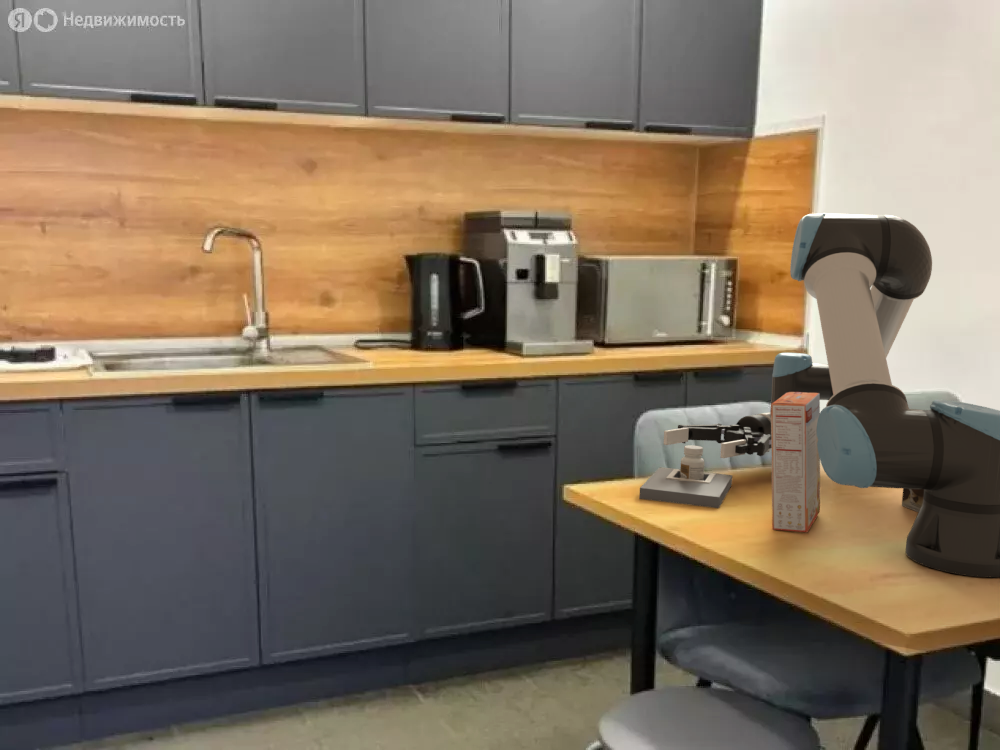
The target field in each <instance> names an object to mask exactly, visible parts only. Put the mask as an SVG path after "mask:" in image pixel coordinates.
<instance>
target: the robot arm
mask: <svg viewBox="0 0 1000 750" xmlns="http://www.w3.org/2000/svg"><path fill="white" fill-rule="evenodd" d="M792 244H793V245H792V251H791V259H790V277H791V279H792V280H794V281H795V280H796V281H798V282H802V281H803V284H804V288H805V290H806V292H807V293H808V294H809V295H810V296H811V297H812V298H814V299H815V300H816V303H817V309H818V315H819V321H820V325H821V326H820V327H821V331H822V338H823V342H824V343H823V344H824V348H825V353H826V354H825V355H826V360H827V363H817V362H813V359H812V355H810V354H808V353H802V352H801V353H799V352H781V353H778V354H776V356H775V357H774V361H773V368H772V369H773V371H772V375H771V376H772V382H771V383H772V384H771V403H770V405H771V404H772V403H773V402H775V401H776V400H778V399H779V398H780V397H782V396H783V395H784V394H786V393H788V392H806V393H819V394H820V401H827V402H826V406H825V407H823V408H822V409H821V410H820V414H819V417H818V421H817V438H818V442H817V448H818V453H819V458H820V465H821V466H822V469H823V471H824V473H825V474H826V476H827V477H828V478H829V479H830V480H831V481H832V482H834V483H836V484H838V485H842V486H852V487H855V488H856V487H857V488H860V489H868V488H887V489H902V490H903V489H923V490H924V496H923V504H922V507H921V509H920V511H919V512H917V516H916V518H915V520H914V522H913V523H912V527H911V528H910V530H909V533H908V535H907V537H906V544H905V554H906V556H907V557H909V558H910V559H911V560H913V561H914V562H916V563H917V564H920V565H923V566H926V567H928V568H931V569H934V570H938V571H942V572H946V573H951V574H956V575H963V576H969V577H979V578H1000V410H999V409H995V408H990V407H987V406H982V405H978V404H973V403H967V402H962V401H956V400H949V399H938V398H937V399H933V400H932V402H931V404H930V405H929V408H930V409H916V408H909V404H908V400H907V397H906V395H905V393H904V392H903V390H902V389H900V388H899V387H897V386H895V385H893V383H892V380H891V379H892V378H891V375H890V374H891V373H890V370H889V366H888V365H889V364H888V362H887V357H888V355H889V353H890V351H891V349H892V347H893V344H894V342H895V340H896V338H897V336H898V334H899V332H900V331H901V330H900V329H901V328H902V325H903V323H904V322H905V319H906V317H907V314H908V312H909V310H910V308H911V306H912V304H913V302H914V300H915V299H918V298H919V297H921V296H922V295H923V294H924V293H925V291H926V288H927V286H928V284H929V282H930V280H931V276H932V271H933V257H932V253H931V249H930V246H929V244H928V242H927V239H926V238H925V236H924V235H923V233H922V232H921V231H920V229H918V228H917V227H916V226H915V225H914V224H913V223H911V222H910V221H908V220H906V219H904V218H902V217H899V216H896V215H890V214H856V213H855V214H854V213H853V214H850V213H827V212H822V213H809V214H805V215H804V216H802V218H801V219H799V222H798V224H797V227H796V231H795V235H794V239H793V243H792ZM722 435H723V439H722ZM689 441H707V442H709V441H711V442H712V441H713V442H717V444H720V457H719V458H721V459H728V458H733V457H738V456H743V455H746V454H747V455H750V456H752V455H754V453H755V454H756V456H759V457H762V456H765V455H766V453H769V452H770V451H771V450H772V444H771V408H770V411H769V412H762V413H757V414H751V415H745V416H743V417H741V418H740V419H738V421H736V423H735V424H730V425H723V424H722V423H715V424H713V423H712V424H678V425H677V428H674V429H673V428H672V429H669V430H664V431H663V445H664V446H668V445H669V446H671V445H675V444H676V445H677V444H683V445H684V444H686V443H687V442H689Z"/></svg>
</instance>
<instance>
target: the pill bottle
mask: <svg viewBox="0 0 1000 750" xmlns="http://www.w3.org/2000/svg"><path fill="white" fill-rule="evenodd" d="M683 454H684V456H683V457H682V458H681V459H680V467H679V468H680V478H684V479H693V480H702V481H704V472H705V460H704V458H702V456H703V454H704V447H702V446H700V445H691V444H690V445H689V444H688V445H685V446H684V449H683Z"/></svg>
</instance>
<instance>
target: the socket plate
mask: <svg viewBox="0 0 1000 750" xmlns="http://www.w3.org/2000/svg"><path fill="white" fill-rule="evenodd" d="M731 485H732V486H733V474H727V473H716V472H709V471H708V472H707V471H704V481H702V480H693V479H684V478H680V469H679V468H671V467H670V468H669V467H662V466H661V467H660V466H659V467H658V469H656V470H655V471H654V473H653V474H651V476H649V478H648V479H646V481H645V482H644V483H643V484H642V485H641V486H640V487H639V495H638V496H639V500H648V501H653V502H654V501H656V502H664V503H672V504H681V505H687V506H697V507H704V508H705V507H706V508H712V509H713V508H714V509H719V508H720V507H721V505H722V503H723V502H724V500H725V498H726V496H727V494H728V492H730V489H731V488H730V487H732V486H731Z"/></svg>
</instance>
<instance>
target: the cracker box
mask: <svg viewBox="0 0 1000 750" xmlns="http://www.w3.org/2000/svg"><path fill="white" fill-rule="evenodd" d="M820 401H821V400H820V394H819V393H806V392H788V393H786V394H784V395H783V396H782V397H780V398H779V399H778V400H776V401H775V402H773V403H772V404H771V403H770V409H771V444H772V449H771V509H772V511H771V512H772V514H771V515H772V517H771V518H772V519H771V522H772V523H771V524H772V526H771V527H772V530H773V531H780V532H781V531H783V532H797V533H808V532H809V530H810V529H811V527H812V525H813V524H814V523H815V520H816V519H817V517H818V515H819V514H820V513H821V512H820V511H821V461H820V458H819V453H818V448H817V442H818V438H817V421H818V417H819V414H820V412H821V407H820V406H821V405H820V404H821V402H820Z"/></svg>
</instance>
